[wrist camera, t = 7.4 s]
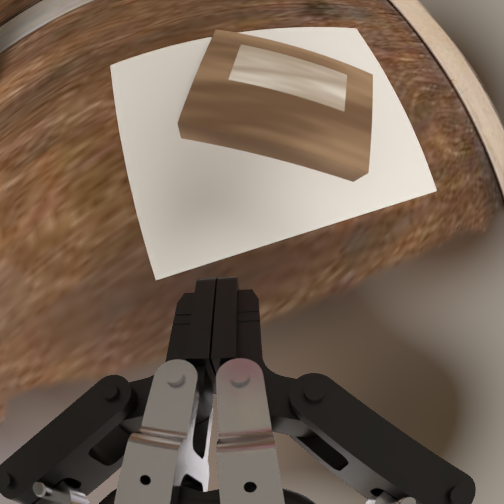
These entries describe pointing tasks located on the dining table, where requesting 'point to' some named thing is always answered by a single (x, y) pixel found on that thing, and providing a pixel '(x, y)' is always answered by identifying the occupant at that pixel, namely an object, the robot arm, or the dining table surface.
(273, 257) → the dining table surface
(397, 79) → the dining table surface
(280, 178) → the mat
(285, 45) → the slab
